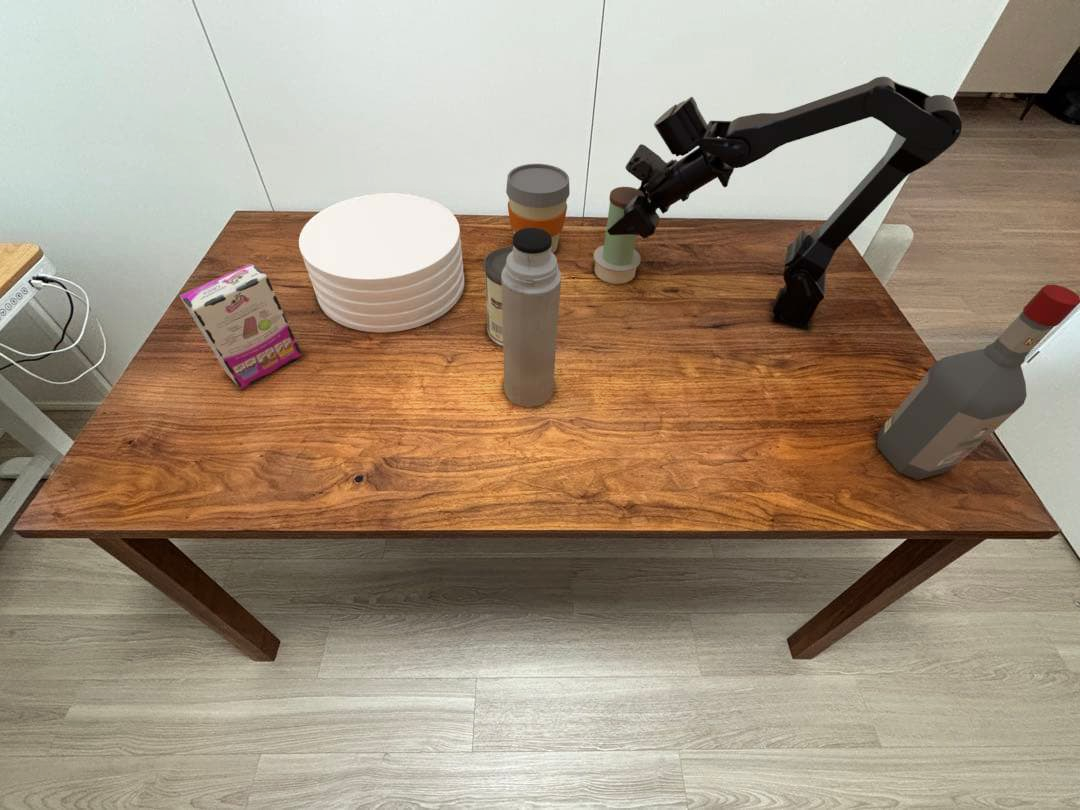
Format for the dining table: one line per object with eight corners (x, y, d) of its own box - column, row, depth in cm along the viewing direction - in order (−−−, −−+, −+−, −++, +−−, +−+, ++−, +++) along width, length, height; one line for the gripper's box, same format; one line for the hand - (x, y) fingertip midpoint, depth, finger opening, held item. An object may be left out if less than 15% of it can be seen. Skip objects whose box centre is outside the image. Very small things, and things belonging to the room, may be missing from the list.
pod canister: (638, 264, 106) (650, 202, 96) (607, 267, 105) (617, 205, 95) (626, 246, 110) (637, 185, 100) (597, 249, 109) (605, 188, 99)
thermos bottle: (514, 366, 91) (513, 214, 70) (559, 378, 89) (572, 226, 68) (496, 399, 86) (490, 246, 65) (543, 412, 84) (552, 260, 63)
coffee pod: (641, 263, 112) (644, 249, 109) (632, 289, 106) (635, 274, 103) (598, 254, 114) (600, 239, 111) (586, 279, 108) (588, 264, 105)
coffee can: (548, 316, 100) (552, 250, 89) (537, 353, 93) (540, 286, 83) (495, 307, 101) (492, 241, 90) (480, 343, 94) (475, 276, 84)
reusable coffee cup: (505, 230, 118) (503, 163, 107) (561, 229, 120) (565, 162, 108) (509, 263, 110) (508, 194, 99) (569, 261, 112) (575, 193, 100)
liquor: (957, 471, 80) (1132, 313, 57) (906, 485, 78) (1067, 327, 55) (913, 425, 85) (1056, 265, 63) (865, 437, 83) (995, 276, 61)
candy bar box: (287, 342, 93) (252, 261, 81) (303, 356, 91) (269, 275, 78) (225, 375, 87) (176, 293, 75) (240, 391, 85) (193, 309, 73)
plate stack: (490, 299, 103) (488, 246, 94) (350, 353, 92) (332, 299, 83) (425, 231, 117) (417, 180, 109) (297, 270, 106) (277, 217, 98)
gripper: (673, 114, 94) (604, 164, 105) (647, 158, 82) (573, 209, 93) (705, 167, 98) (637, 210, 109) (685, 216, 87) (611, 259, 97)
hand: (615, 220), depth 102 cm, fingers open, 9 cm apart
